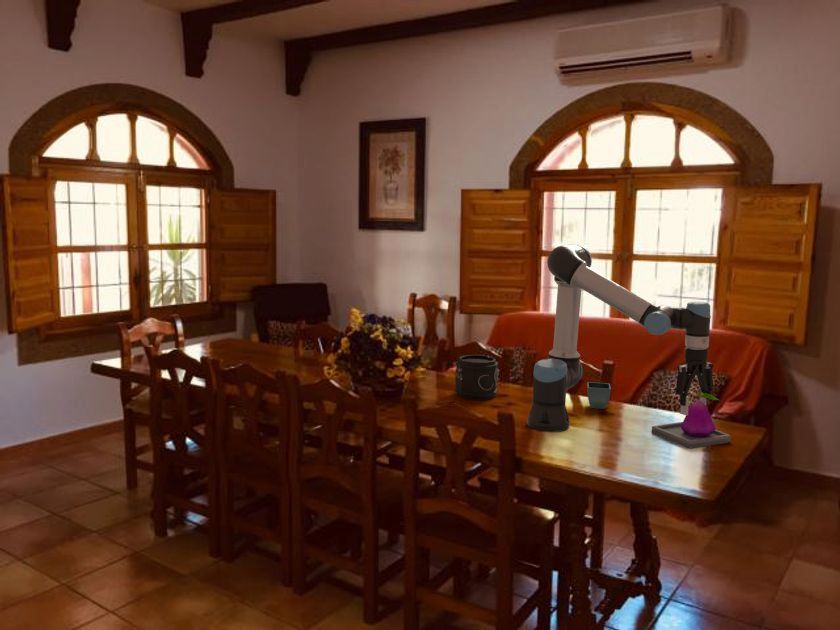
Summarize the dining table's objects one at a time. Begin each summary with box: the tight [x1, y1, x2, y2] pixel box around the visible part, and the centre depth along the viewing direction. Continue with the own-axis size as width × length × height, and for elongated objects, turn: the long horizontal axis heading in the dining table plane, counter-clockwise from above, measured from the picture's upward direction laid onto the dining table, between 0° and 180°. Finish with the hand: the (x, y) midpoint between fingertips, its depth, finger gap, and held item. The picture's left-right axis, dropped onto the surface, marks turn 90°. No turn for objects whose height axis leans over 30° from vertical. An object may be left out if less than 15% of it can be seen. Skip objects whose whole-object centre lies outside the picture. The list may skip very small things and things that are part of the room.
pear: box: [681, 390, 720, 437], centre depth 247 cm, size 11×11×15 cm
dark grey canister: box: [454, 354, 499, 401], centre depth 301 cm, size 18×18×16 cm
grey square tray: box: [651, 421, 731, 450], centre depth 249 cm, size 18×18×2 cm
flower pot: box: [586, 381, 612, 410], centre depth 285 cm, size 9×9×9 cm
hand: (693, 413), depth 248 cm, fingers open, 7 cm apart
